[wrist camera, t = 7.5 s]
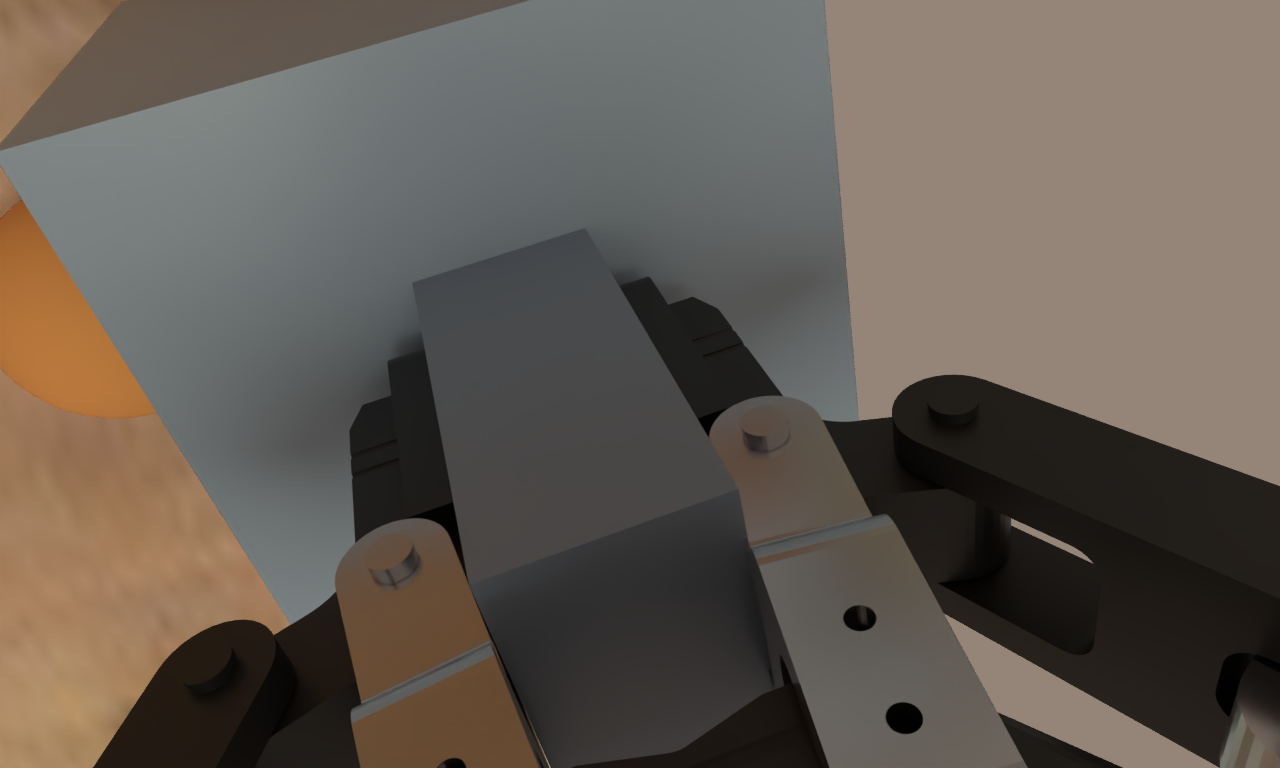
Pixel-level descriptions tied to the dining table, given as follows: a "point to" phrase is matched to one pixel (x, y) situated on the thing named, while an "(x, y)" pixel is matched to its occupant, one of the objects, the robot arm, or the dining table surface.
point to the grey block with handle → (470, 296)
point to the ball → (57, 330)
